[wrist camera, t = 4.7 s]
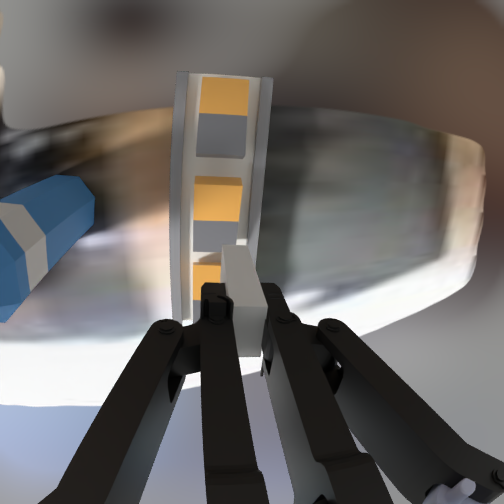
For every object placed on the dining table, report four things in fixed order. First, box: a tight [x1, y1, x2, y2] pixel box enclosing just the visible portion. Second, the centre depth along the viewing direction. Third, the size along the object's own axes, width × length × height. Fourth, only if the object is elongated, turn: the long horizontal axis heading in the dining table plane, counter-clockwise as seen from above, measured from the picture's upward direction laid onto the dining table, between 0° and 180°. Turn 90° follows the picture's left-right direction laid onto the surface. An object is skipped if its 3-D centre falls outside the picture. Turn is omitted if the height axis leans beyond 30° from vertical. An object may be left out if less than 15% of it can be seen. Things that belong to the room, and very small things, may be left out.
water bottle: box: [0, 175, 95, 323], centre depth 23 cm, size 9×9×25 cm
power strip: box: [169, 71, 273, 324], centre depth 35 cm, size 10×30×5 cm, turn 175°
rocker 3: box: [193, 262, 221, 324], centre depth 35 cm, size 5×8×2 cm, turn 175°
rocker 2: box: [193, 176, 243, 252], centre depth 31 cm, size 5×8×2 cm, turn 175°
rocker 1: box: [196, 77, 249, 159], centre depth 27 cm, size 5×8×2 cm, turn 175°
